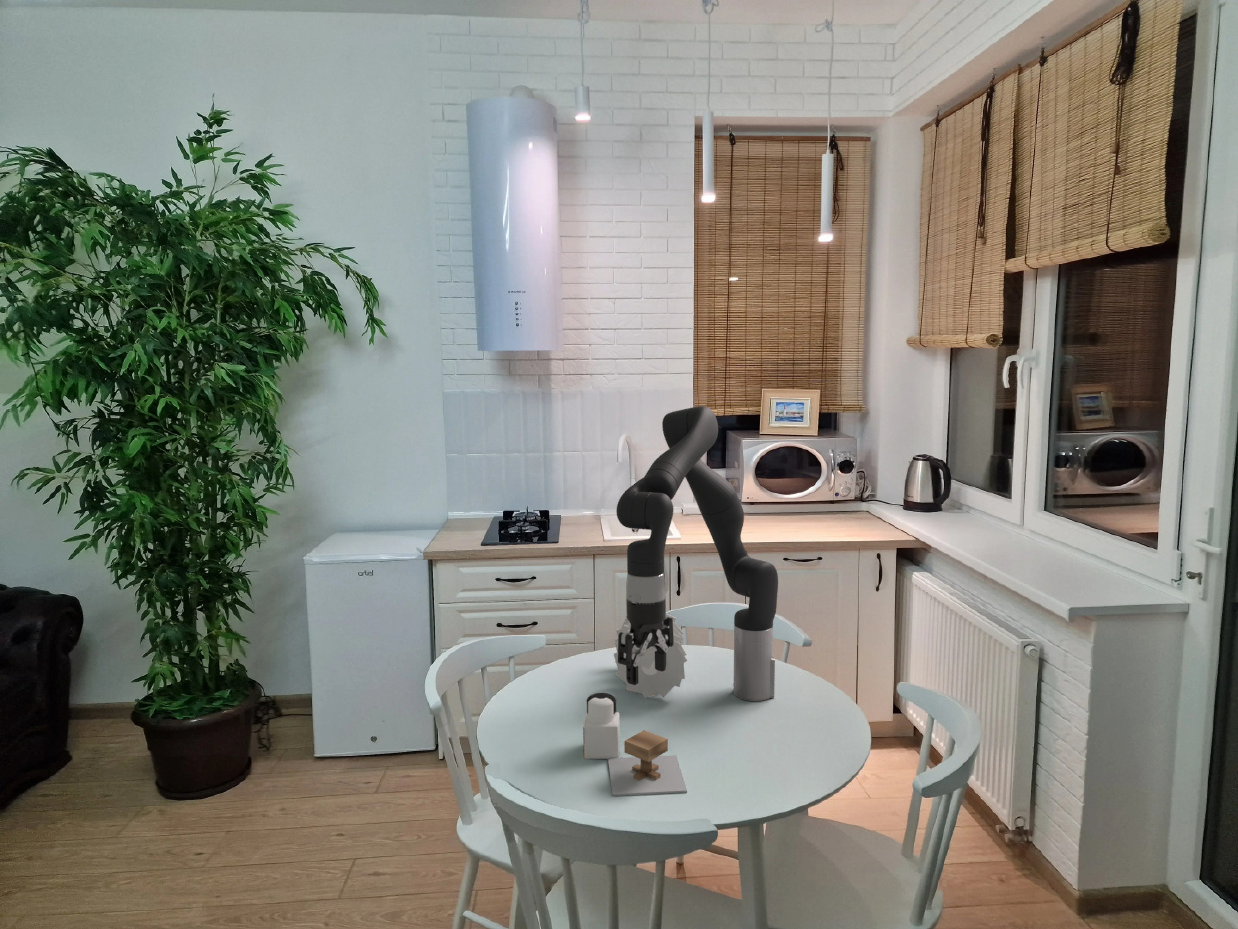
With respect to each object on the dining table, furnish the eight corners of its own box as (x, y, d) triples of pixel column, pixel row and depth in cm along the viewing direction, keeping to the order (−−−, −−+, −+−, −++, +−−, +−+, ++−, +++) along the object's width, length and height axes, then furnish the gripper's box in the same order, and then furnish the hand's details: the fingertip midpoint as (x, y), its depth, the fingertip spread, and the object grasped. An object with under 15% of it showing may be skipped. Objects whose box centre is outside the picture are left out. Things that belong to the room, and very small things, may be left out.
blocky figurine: (586, 743, 177) (585, 689, 176) (619, 743, 177) (619, 689, 176) (583, 759, 170) (582, 703, 169) (618, 759, 170) (618, 703, 168)
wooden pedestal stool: (644, 763, 168) (643, 730, 167) (667, 773, 164) (667, 739, 163) (624, 775, 163) (624, 741, 162) (648, 785, 159) (648, 750, 158)
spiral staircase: (664, 680, 222) (669, 716, 197) (604, 652, 221) (601, 685, 196) (694, 619, 220) (702, 647, 195) (633, 591, 220) (634, 616, 195)
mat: (676, 757, 171) (676, 755, 171) (687, 792, 157) (687, 790, 157) (608, 760, 170) (607, 758, 170) (612, 796, 156) (612, 794, 156)
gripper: (653, 584, 167) (654, 662, 169) (606, 600, 156) (607, 683, 158) (684, 590, 162) (684, 670, 164) (637, 608, 151) (638, 693, 153)
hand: (646, 677), depth 161 cm, fingers open, 8 cm apart
